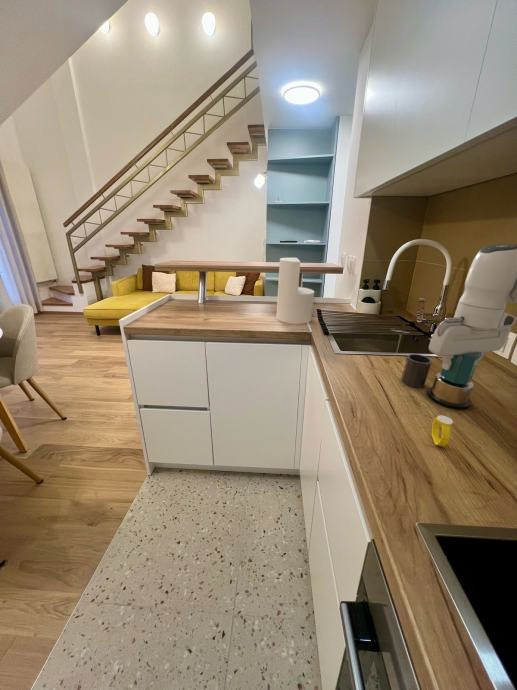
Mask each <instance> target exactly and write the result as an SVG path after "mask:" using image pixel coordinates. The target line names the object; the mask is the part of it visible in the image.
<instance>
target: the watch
mask: <svg viewBox="0 0 517 690" xmlns="http://www.w3.org/2000/svg"><path fill="white" fill-rule="evenodd" d="M453 424H454V421H453V420H452V418H450V417H448V416H447V415H443V414H439V415H437V416H436V417H435V418H434V419H433V421H432V426H431V437H432V439H433V442H434V443H433V444H434V445H435V446H440V447H446V446H447V445H448V443H449V440H450V437H451V427H452V426H453ZM440 427H441V436H440Z"/></svg>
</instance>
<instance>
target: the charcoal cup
mask: <svg viewBox="0 0 517 690" xmlns="http://www.w3.org/2000/svg"><path fill="white" fill-rule="evenodd" d="M432 363H433V360H432V359H431V358H430V357H427V356H425V355H423V354H417V353H412V354H410V353H409V354H407V355H406V360H405V362H404V367H403V371H402V375H401V378H400V379H401V380H400V381H401V382H402V383H403V384H404V385H406V386H407V387H410V388H414V389H422V388H424V387H425V385H426V383H427V379H428V376H429V373H430V371H431V366H432Z"/></svg>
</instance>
